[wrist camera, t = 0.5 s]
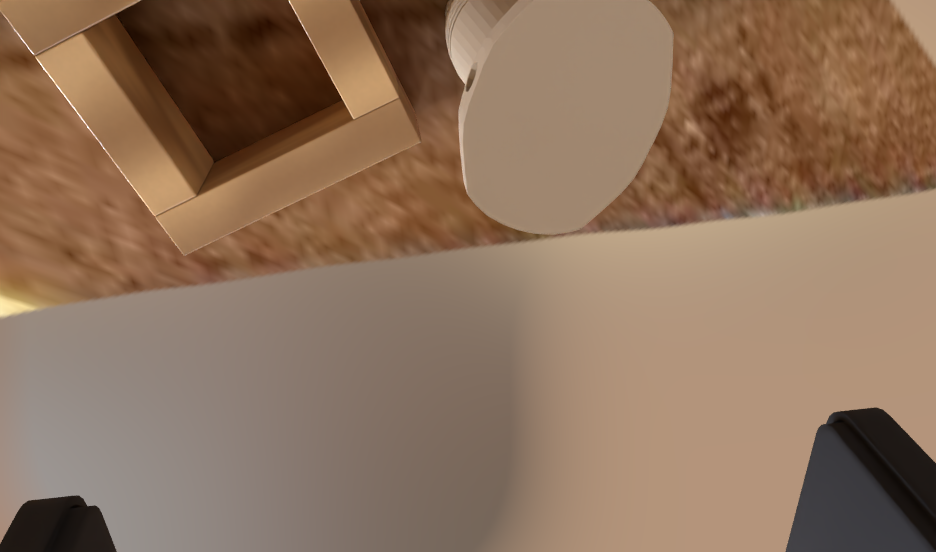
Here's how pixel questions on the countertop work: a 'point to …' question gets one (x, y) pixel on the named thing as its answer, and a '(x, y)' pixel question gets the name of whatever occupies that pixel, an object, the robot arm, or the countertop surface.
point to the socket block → (175, 143)
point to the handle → (556, 103)
